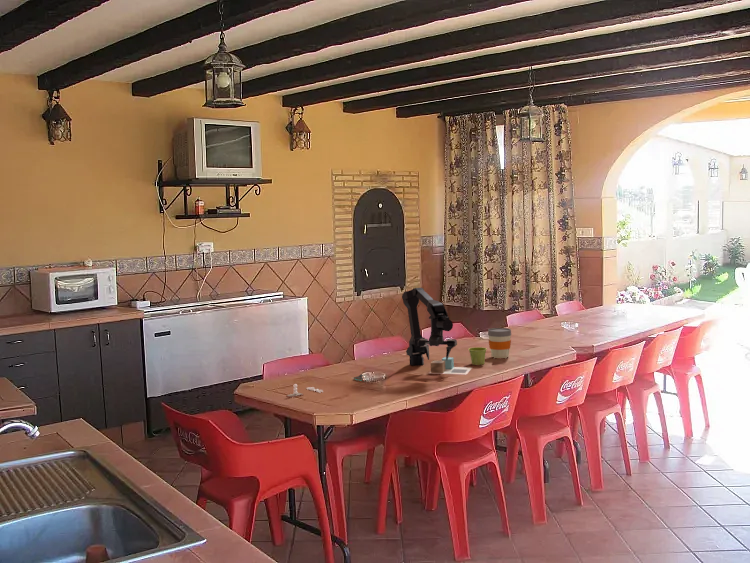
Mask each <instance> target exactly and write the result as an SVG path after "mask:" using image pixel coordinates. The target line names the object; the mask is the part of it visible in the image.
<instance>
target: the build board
mask: <svg viewBox="0 0 750 563" xmlns="http://www.w3.org/2000/svg"><path fill="white" fill-rule="evenodd" d="M472 369H473V367H470V366H469V367H466V366H454V368H453V369H445V372H444V373H433V374H439V375H440V374H441V375H443V374H444V375H464V376H465V375H468V374H469V373H470V371H471V370H472ZM428 374H432V373H431V370H429V372H428Z"/></svg>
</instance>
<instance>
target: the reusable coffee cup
mask: <svg viewBox="0 0 750 563" xmlns="http://www.w3.org/2000/svg"><path fill="white" fill-rule="evenodd" d="M487 336H488V347H489V349H490V353H491V358H492V357H494V358H493V359H495V358H505V359H508V358H509V354H510V349H511V343H512V339H511V337H512V329H511V328H507V327H494V328H488V329H487ZM507 357H508V358H507Z"/></svg>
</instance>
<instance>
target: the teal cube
mask: <svg viewBox="0 0 750 563" xmlns="http://www.w3.org/2000/svg"><path fill="white" fill-rule="evenodd" d="M454 360H455V359H454V357H451V356H449V357H448V360H446V356H444V357H442V358H441V361H445V369H453V368H454V367H455V364H454V362H455V361H454Z"/></svg>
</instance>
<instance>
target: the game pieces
mask: <svg viewBox="0 0 750 563" xmlns="http://www.w3.org/2000/svg"><path fill="white" fill-rule="evenodd" d="M363 375H364V374H359V375H358V376H354V377H351V378H350V379H352V380H353V381H357V382H360V381H361V383H363V378H362V376H363ZM292 386H293V391H292V392H293V393H289V394H286V397H287V398H290V397H291V398H290V399H292V397H293V398H297V397H296V396H298V397H301V396H300V395H302V396H304V393H301V392H298V384H297V383H294V384H293V385H292ZM305 389H306V390H308V391H314V392H315V391H316V392H315V393H319V394H321V392H322V393H324V389H319V388H316V387H314V386H312V387H311V386H310V387H306V388H305Z"/></svg>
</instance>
